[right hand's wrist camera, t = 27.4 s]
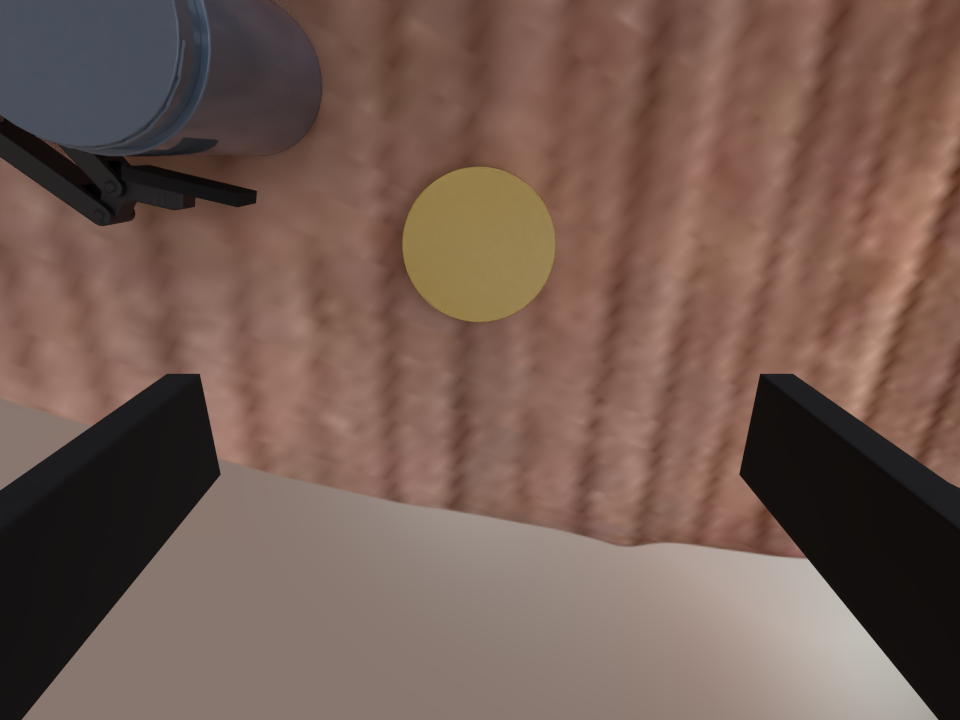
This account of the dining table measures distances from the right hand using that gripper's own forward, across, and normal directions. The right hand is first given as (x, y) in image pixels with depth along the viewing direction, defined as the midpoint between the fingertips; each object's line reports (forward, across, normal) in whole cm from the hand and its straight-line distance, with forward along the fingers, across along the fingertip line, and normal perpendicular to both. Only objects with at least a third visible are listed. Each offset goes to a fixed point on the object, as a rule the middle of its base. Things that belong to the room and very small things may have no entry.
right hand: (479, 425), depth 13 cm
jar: (+28, +15, -11) cm, 34 cm away
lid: (+26, 0, 0) cm, 26 cm away
